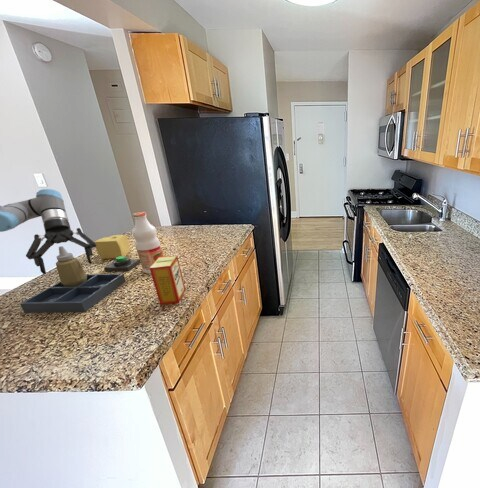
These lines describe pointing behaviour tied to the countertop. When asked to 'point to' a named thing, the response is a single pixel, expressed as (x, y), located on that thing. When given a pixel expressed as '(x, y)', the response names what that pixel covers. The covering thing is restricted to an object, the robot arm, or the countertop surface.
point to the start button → (120, 258)
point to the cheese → (112, 246)
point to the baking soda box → (168, 279)
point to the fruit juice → (146, 241)
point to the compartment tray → (74, 295)
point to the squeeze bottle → (69, 269)
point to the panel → (122, 265)
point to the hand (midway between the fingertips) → (67, 267)
